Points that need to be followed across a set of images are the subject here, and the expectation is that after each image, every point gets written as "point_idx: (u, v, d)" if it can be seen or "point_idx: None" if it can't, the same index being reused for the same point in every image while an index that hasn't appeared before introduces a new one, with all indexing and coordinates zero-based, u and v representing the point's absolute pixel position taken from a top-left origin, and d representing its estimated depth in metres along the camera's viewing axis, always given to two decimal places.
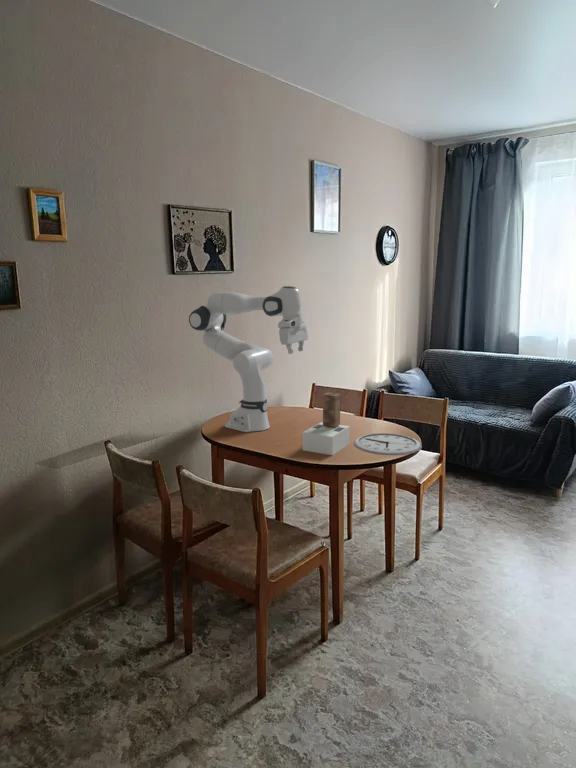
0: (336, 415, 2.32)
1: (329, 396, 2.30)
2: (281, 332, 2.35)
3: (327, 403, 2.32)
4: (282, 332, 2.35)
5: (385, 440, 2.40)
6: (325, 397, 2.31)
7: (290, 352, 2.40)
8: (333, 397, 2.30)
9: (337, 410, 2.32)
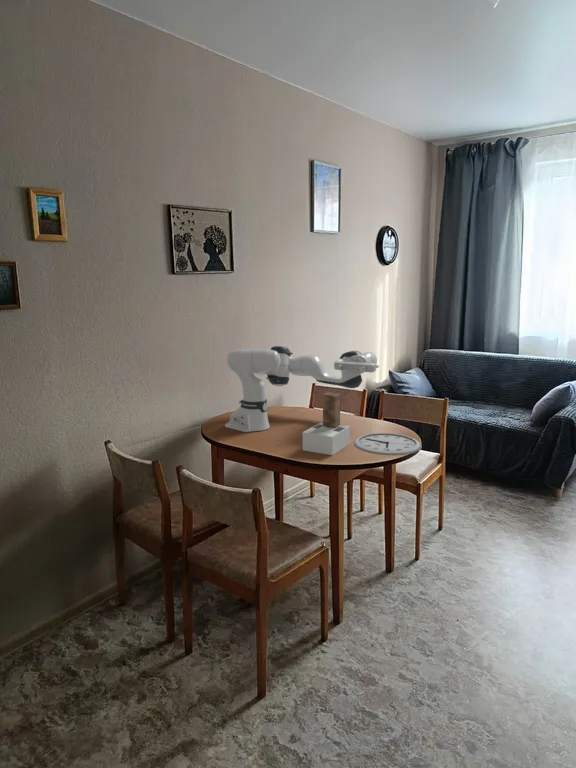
0: (336, 415, 2.32)
1: (329, 396, 2.30)
2: None
3: (327, 403, 2.32)
4: None
5: (385, 440, 2.40)
6: (325, 397, 2.31)
7: None
8: (333, 397, 2.30)
9: (337, 410, 2.32)
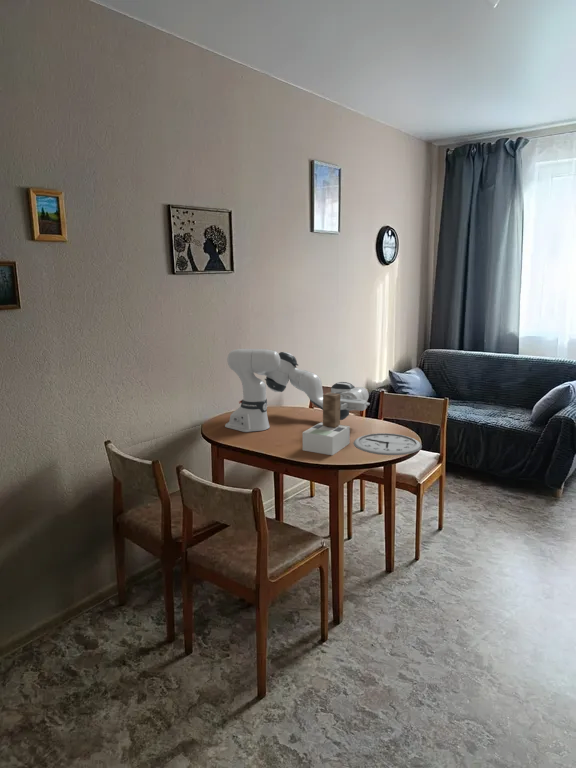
0: (336, 415, 2.32)
1: (329, 396, 2.30)
2: None
3: (327, 403, 2.32)
4: None
5: (385, 440, 2.40)
6: (325, 397, 2.31)
7: None
8: (333, 397, 2.30)
9: (337, 410, 2.32)
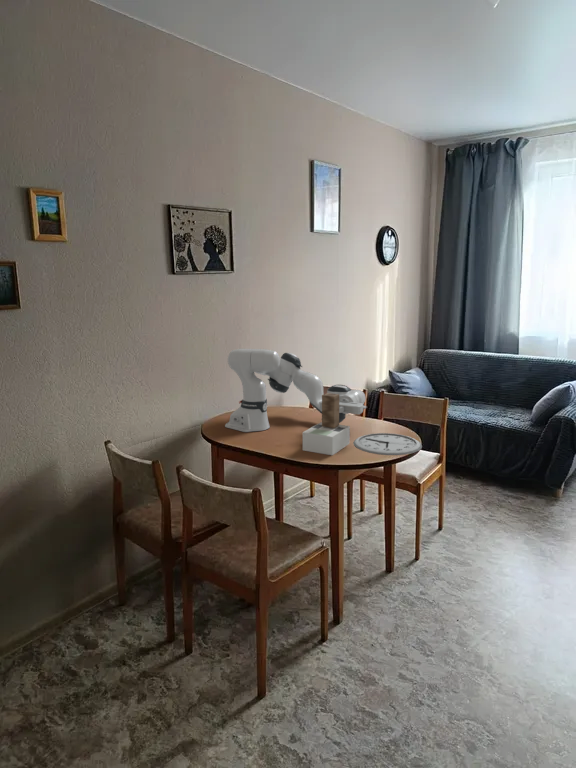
0: (335, 416, 2.31)
1: (328, 396, 2.30)
2: None
3: (326, 404, 2.31)
4: None
5: (385, 440, 2.40)
6: (324, 397, 2.31)
7: None
8: (332, 397, 2.29)
9: (336, 410, 2.31)
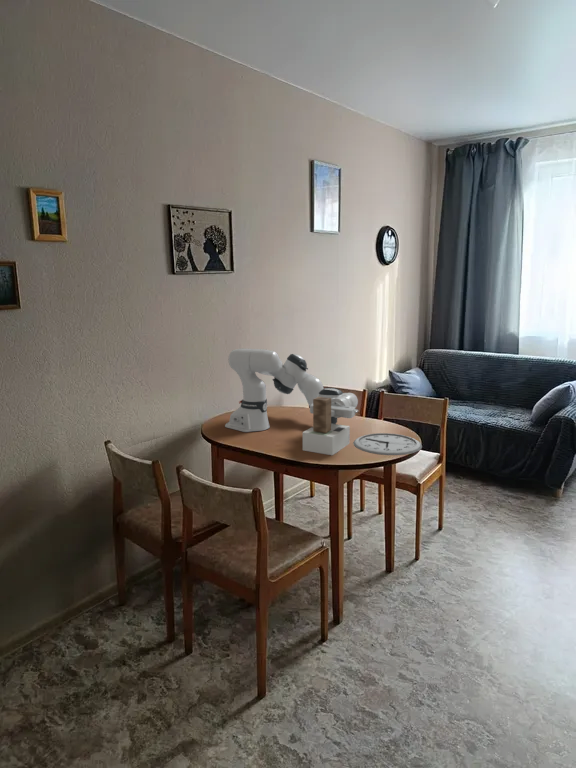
0: (327, 420, 2.24)
1: (319, 400, 2.22)
2: None
3: (317, 408, 2.24)
4: None
5: (385, 440, 2.40)
6: (315, 402, 2.24)
7: None
8: (324, 402, 2.22)
9: (328, 415, 2.24)
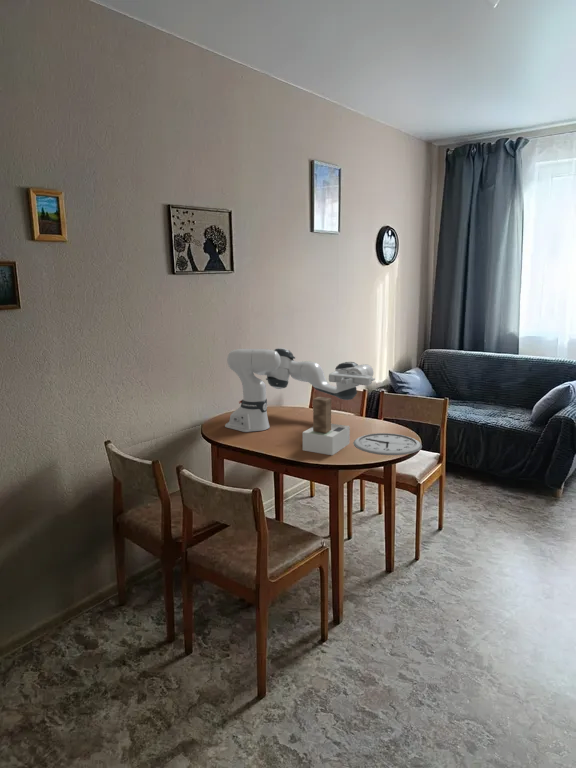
0: (327, 420, 2.24)
1: (319, 400, 2.22)
2: None
3: (317, 408, 2.24)
4: None
5: (385, 440, 2.40)
6: (315, 402, 2.24)
7: None
8: (324, 402, 2.22)
9: (328, 415, 2.24)
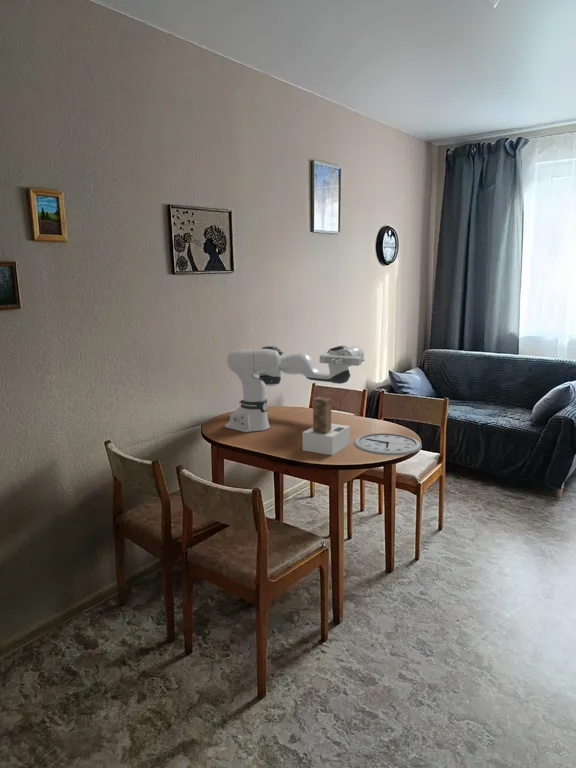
0: (327, 420, 2.24)
1: (319, 400, 2.22)
2: None
3: (317, 408, 2.24)
4: None
5: (385, 440, 2.40)
6: (315, 402, 2.24)
7: None
8: (324, 402, 2.22)
9: (328, 415, 2.24)
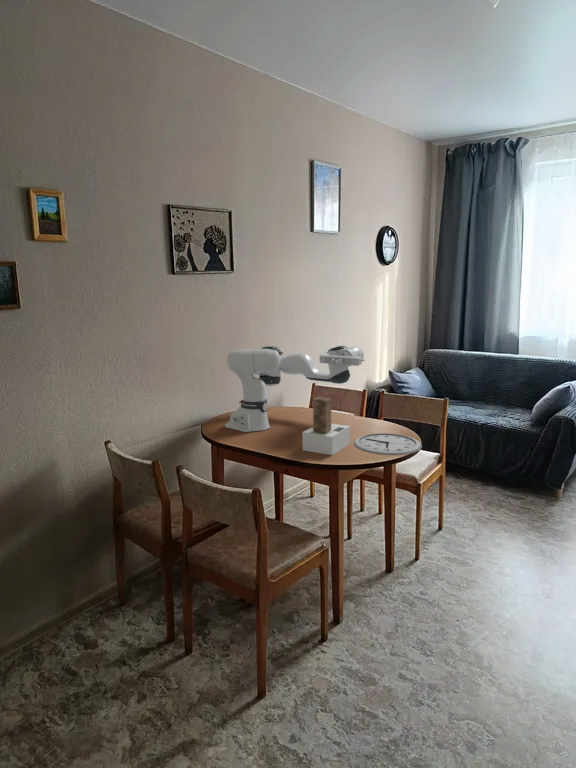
0: (327, 420, 2.24)
1: (319, 400, 2.22)
2: None
3: (317, 408, 2.24)
4: None
5: (385, 440, 2.40)
6: (315, 402, 2.24)
7: None
8: (324, 402, 2.22)
9: (328, 415, 2.24)
